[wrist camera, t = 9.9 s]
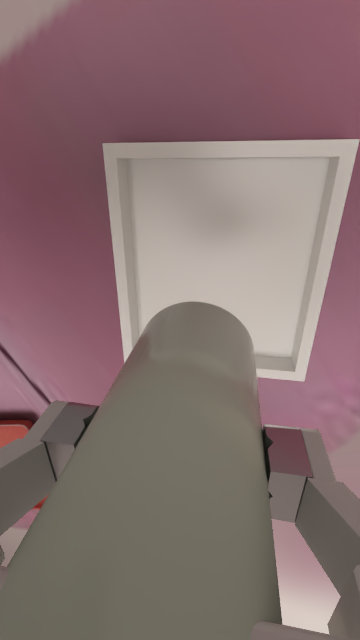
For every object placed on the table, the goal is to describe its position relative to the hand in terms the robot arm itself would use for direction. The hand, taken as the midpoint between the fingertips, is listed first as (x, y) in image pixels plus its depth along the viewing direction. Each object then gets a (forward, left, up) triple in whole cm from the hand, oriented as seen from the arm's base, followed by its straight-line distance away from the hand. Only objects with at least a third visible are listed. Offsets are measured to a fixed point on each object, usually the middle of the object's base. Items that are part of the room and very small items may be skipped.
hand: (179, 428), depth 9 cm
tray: (0, -1, -21) cm, 21 cm away
